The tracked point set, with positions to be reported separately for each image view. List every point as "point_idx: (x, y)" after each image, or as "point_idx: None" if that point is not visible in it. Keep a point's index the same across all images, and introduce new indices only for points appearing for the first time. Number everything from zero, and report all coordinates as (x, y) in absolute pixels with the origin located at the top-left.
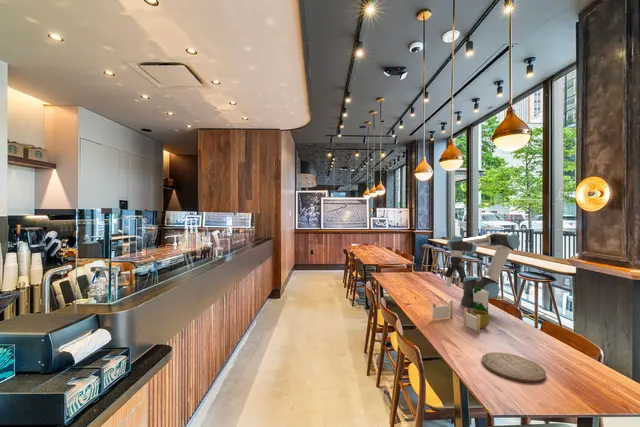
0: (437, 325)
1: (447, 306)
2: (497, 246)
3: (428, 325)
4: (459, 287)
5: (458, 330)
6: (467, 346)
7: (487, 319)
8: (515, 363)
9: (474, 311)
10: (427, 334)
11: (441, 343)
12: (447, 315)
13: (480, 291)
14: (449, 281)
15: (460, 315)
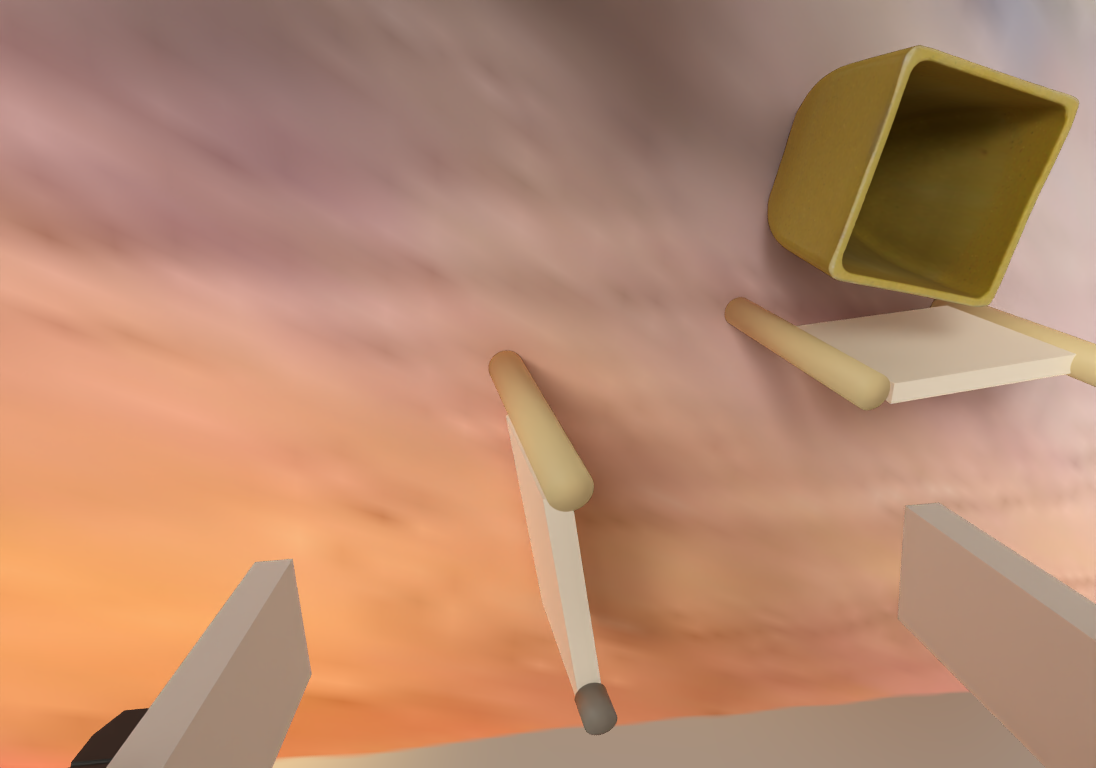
0: (689, 591)
1: (573, 516)
2: None
3: (673, 661)
4: (900, 591)
5: (835, 458)
6: (1063, 523)
7: (1004, 137)
8: None
9: (850, 213)
10: (827, 704)
11: None
12: None
13: None
14: (230, 735)
15: (400, 168)
